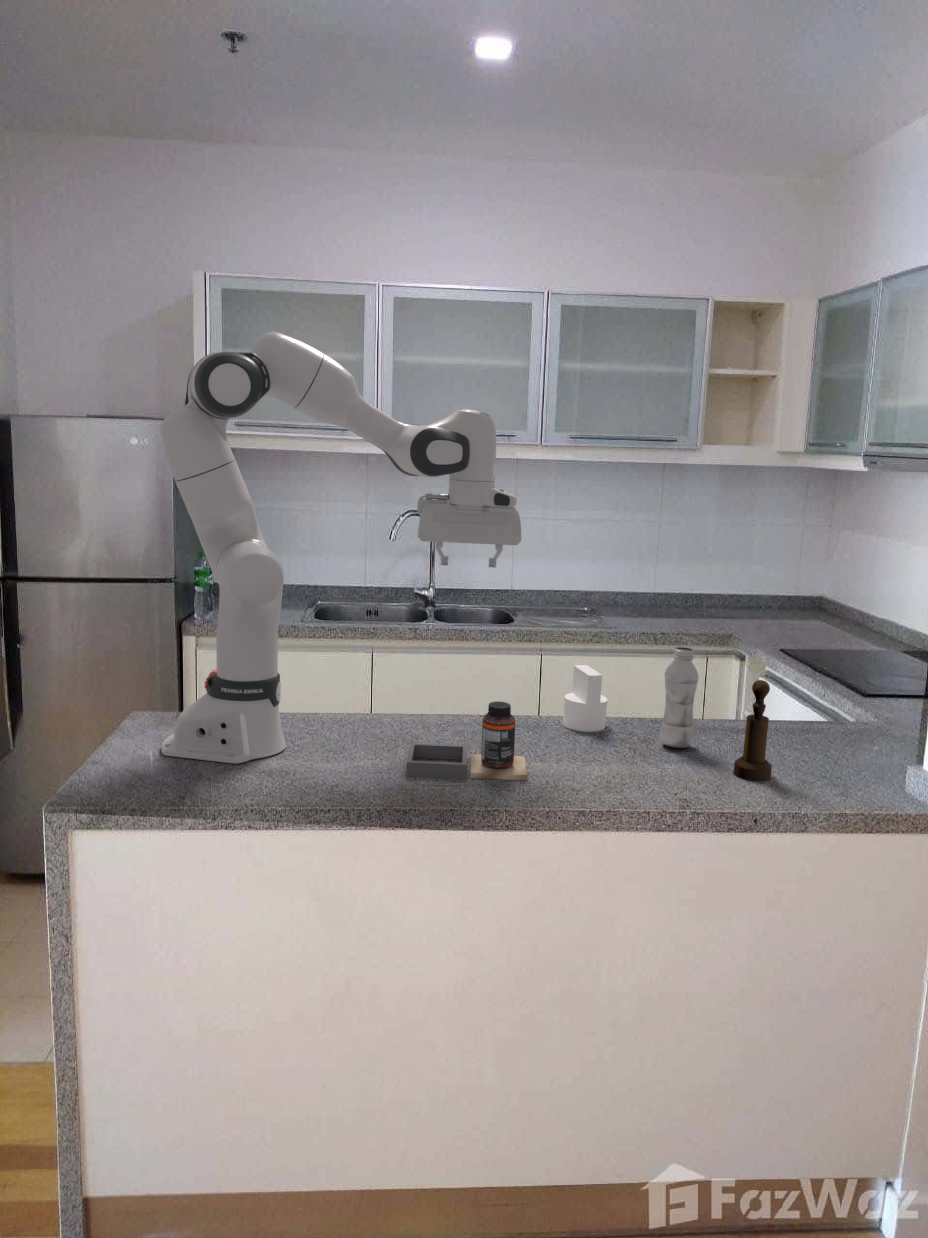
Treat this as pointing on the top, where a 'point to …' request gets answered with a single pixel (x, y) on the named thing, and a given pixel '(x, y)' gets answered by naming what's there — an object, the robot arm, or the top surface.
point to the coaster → (509, 773)
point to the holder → (437, 767)
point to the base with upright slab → (585, 701)
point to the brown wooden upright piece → (755, 740)
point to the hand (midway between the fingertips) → (468, 566)
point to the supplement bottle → (498, 736)
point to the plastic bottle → (679, 700)
